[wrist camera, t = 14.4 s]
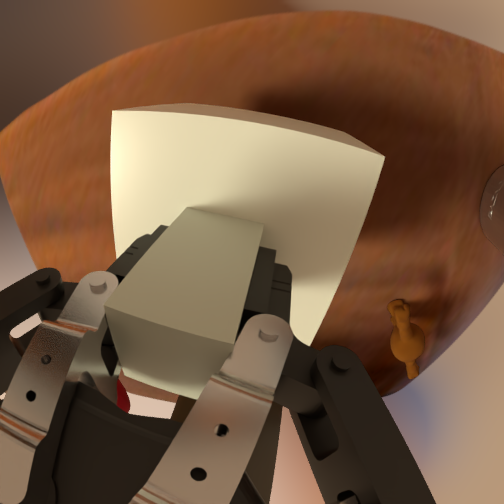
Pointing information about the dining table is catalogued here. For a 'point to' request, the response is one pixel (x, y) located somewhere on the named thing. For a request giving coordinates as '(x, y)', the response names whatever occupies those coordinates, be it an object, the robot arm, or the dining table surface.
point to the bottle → (264, 450)
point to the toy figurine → (405, 337)
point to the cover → (225, 228)
